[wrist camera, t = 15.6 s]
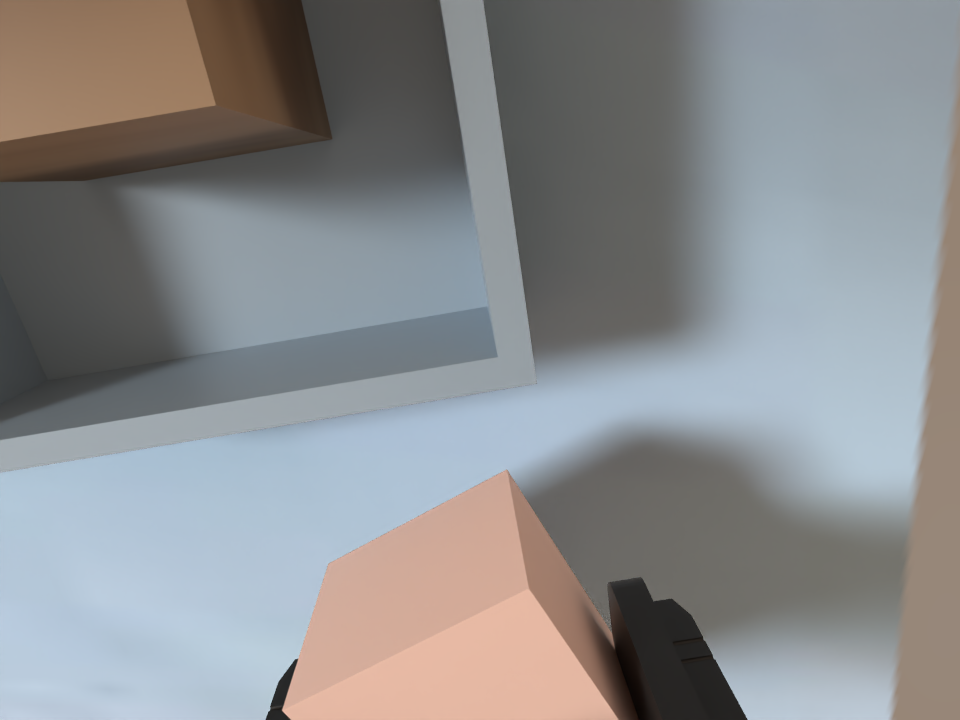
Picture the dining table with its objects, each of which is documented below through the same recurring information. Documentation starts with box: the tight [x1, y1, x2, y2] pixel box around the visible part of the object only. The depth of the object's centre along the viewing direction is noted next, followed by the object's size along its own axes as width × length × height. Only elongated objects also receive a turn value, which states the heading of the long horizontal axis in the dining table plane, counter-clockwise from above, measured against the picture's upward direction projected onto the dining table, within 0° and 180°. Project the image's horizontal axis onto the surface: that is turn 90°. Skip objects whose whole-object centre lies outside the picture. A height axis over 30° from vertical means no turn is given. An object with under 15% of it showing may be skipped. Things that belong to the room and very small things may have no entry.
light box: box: [282, 470, 639, 720], centre depth 11 cm, size 4×6×4 cm
